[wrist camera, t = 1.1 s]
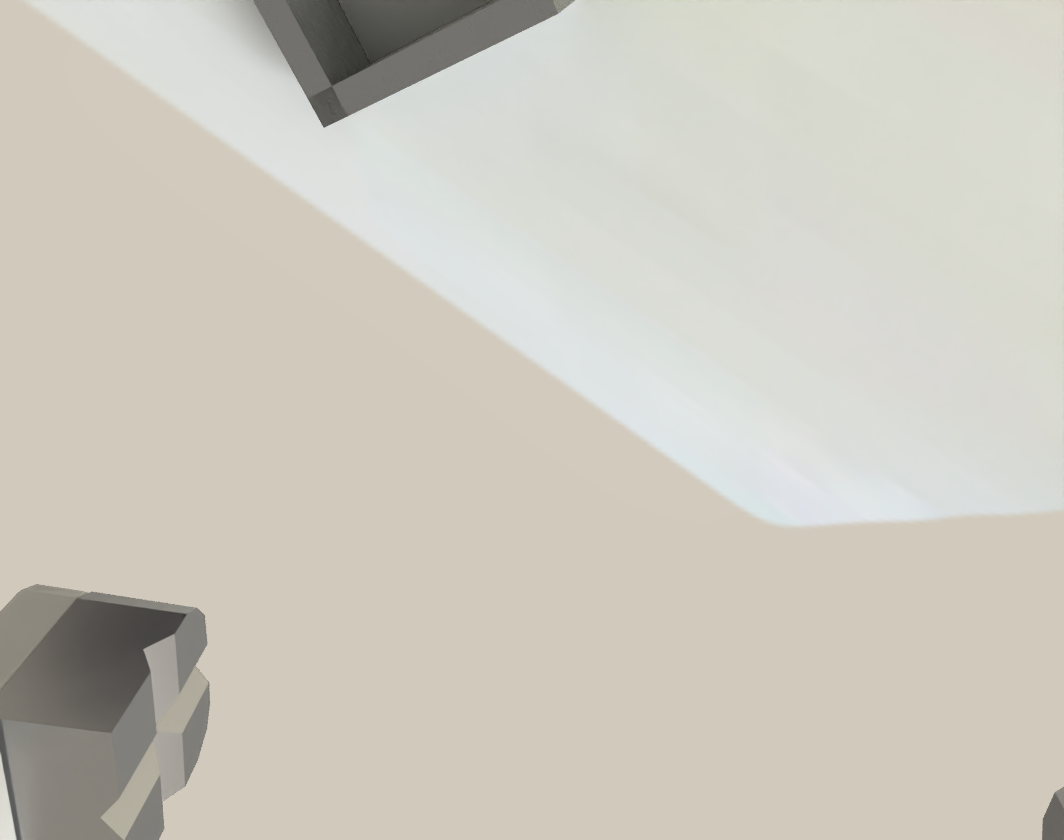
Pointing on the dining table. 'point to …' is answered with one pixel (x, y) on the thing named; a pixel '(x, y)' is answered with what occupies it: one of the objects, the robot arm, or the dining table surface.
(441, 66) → the receiver bay
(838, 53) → the dining table surface
